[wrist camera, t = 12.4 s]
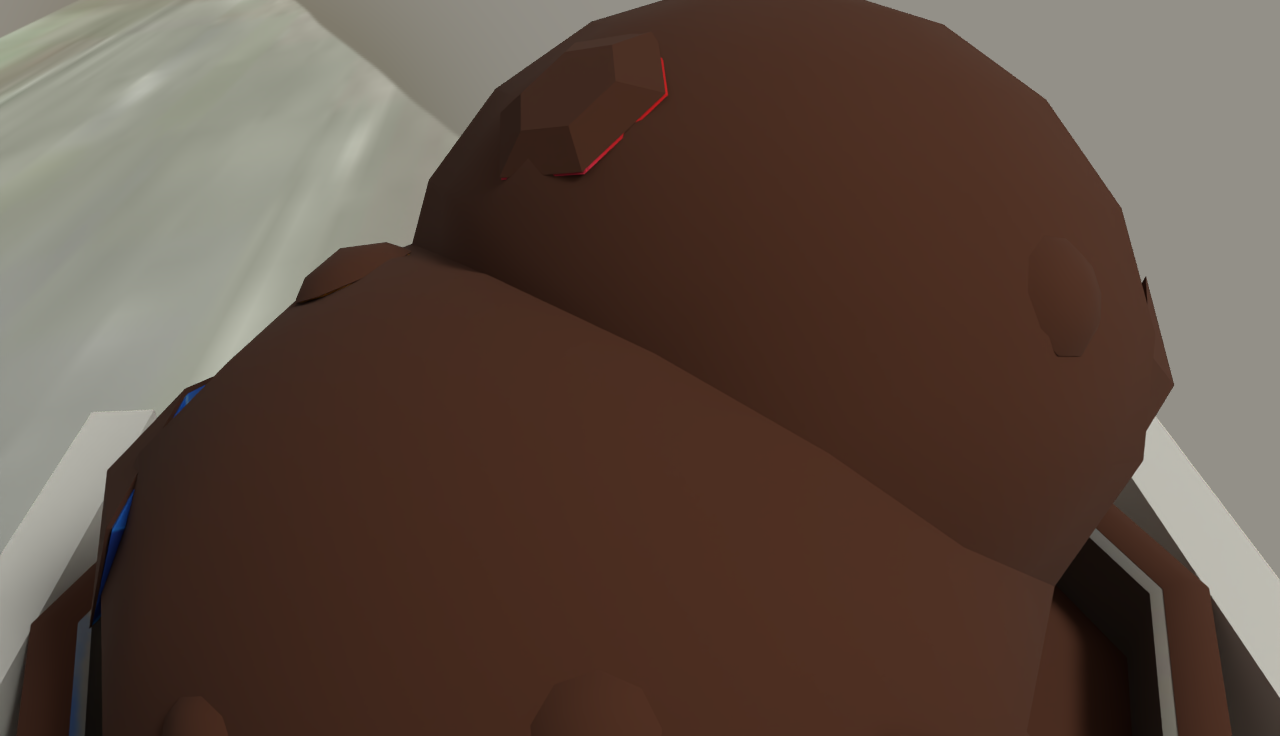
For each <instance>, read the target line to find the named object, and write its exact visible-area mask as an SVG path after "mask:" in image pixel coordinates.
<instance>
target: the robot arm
mask: <svg viewBox="0 0 1280 736" xmlns="http://www.w3.org/2000/svg"><path fill="white" fill-rule="evenodd" d="M156 419H157V418H156V414H155V411H154V410H131V411H107V412H92V413H91V414H90V416H89V417H88V419H87V421H86V422H85V424H84V425H83V427H82V428H81V430H80V432H79V433H78V435H77V436H76V438H75V439H74V441H73V442H72V444H71V446H70V447H69V449H68V450H67V452H66V453H65V455H64V456H63V458H62V460H61V461H60V463H59V464H58V466H57V467H56V469H55V471H54V472H53V474H52V475H51V477H50V478H49V480H48V481H47V483H46V485H45V486H44V488H43V489H42V491H41V492H40V494H39V496H38V497H37V499H36V500H35V502H34V503H33V505H32V506H31V508H30V510H29V511H28V513H27V514H26V516H25V517H24V519H23V520H22V522H21V524H20V525H19V527H18V528H17V530H16V531H15V533H14V535H13V536H12V538H11V539H10V541H9V542H8V544H7V545H6V547H5V549H4V550H3V552H2V553H1V555H0V736H16V735H17V728H18V720H19V712H20V704H21V697H22V689H23V681H24V673H25V665H26V658H27V650H28V642H29V634H30V627H31V623H32V622H33V621H35V620H36V619H37V618H38V617H39V616H40V615H41V614H42V613H43V612H44V611H45V610H46V609H47V608H48V607H49V606H50V605H51V604H52V603H53V602H54V601H55V600H57V599H58V598H59V597H60V596H61V595H62V594H63V593H64V592H65V591H66V590H67V589H68V588H69V587H70V586H71V585H72V584H73V583H74V582H75V581H76V580H78V579H79V578H80V577H81V576H82V575H83V574H84V573H85V572H86V571H87V570H88V569H89V568H90V567H91V566H92V565H93V564H94V563H95V562H96V561H97V554H98V546H99V537H100V528H101V519H102V510H103V501H104V492H105V484H106V475H107V470H108V469H109V468H110V467H111V466H112V465H113V464H114V462H115V461H116V460H117V459H118V458H119V457H120V456H121V455H122V454H123V453H124V452H125V451H126V450H127V449H128V448H129V447H130V446H131V445H132V444H133V443H134V442H135V441H136V440H137V438H138V437H139V436H140V435H141V434H142V433H143V432H144V431H145V430H146V429H147V428H148V427H149V426H150V425H151V424H152V423H153V422H154V421H155V420H156ZM1113 504H1114V505H1115V506H1116V507H1118V508H1119V509H1120V510H1121V511H1122V512H1123V513H1124V514H1126V515H1127V516H1128V517H1129V518H1130V519H1131V520H1132V521H1134V522H1135V523H1136V524H1137V525H1138V526H1139V527H1140V528H1141V529H1143V530H1144V531H1145V532H1146V533H1147V534H1148V535H1149V536H1151V537H1152V538H1153V539H1154V540H1155V541H1156V542H1157V543H1159V544H1160V545H1161V546H1162V547H1163V548H1164V549H1165V550H1167V551H1168V552H1169V553H1170V554H1171V555H1172V556H1173V557H1175V558H1176V559H1177V560H1178V561H1179V562H1180V563H1181V564H1183V565H1184V566H1185V567H1186V568H1187V569H1188V570H1189V571H1191V572H1192V573H1193V574H1194V575H1195V576H1196V577H1197V578H1199V579H1200V580H1201V581H1202V582H1203V583H1204V584H1205V585H1207V586H1208V587H1209V590H1210V597H1211V603H1212V609H1213V616H1214V622H1215V629H1216V635H1217V642H1218V648H1219V654H1220V661H1221V667H1222V674H1223V680H1224V686H1225V693H1226V699H1227V706H1228V712H1229V718H1230V725H1231V731H1232V736H1280V580H1279V578H1278V577H1277V576H1276V574H1275V573H1274V572H1273V570H1272V569H1271V568H1270V566H1269V565H1268V564H1267V562H1266V561H1265V560H1264V558H1263V557H1262V556H1261V554H1260V553H1259V552H1258V550H1257V549H1256V548H1255V547H1254V545H1253V544H1252V543H1251V541H1250V540H1249V539H1248V537H1247V536H1246V535H1245V533H1244V532H1243V531H1242V529H1241V528H1240V527H1239V525H1238V524H1237V523H1236V521H1235V520H1234V519H1233V518H1232V516H1231V515H1230V514H1229V512H1228V511H1227V510H1226V508H1225V507H1224V506H1223V504H1222V503H1221V502H1220V500H1219V499H1218V498H1217V496H1216V495H1215V494H1214V492H1213V491H1212V490H1211V489H1210V487H1209V486H1208V485H1207V483H1206V482H1205V481H1204V479H1203V478H1202V477H1201V475H1200V474H1199V473H1198V471H1197V470H1196V469H1195V467H1194V466H1193V465H1192V463H1191V462H1190V461H1189V459H1188V458H1187V457H1186V456H1185V454H1184V453H1183V452H1182V450H1181V449H1180V448H1179V446H1178V445H1177V444H1176V442H1175V441H1174V440H1173V438H1172V437H1171V436H1170V434H1169V433H1168V432H1167V430H1166V429H1165V428H1164V426H1163V425H1162V424H1161V423H1160V421H1159V420H1158V419H1157V417H1156V416H1155V418H1154V419H1153V421H1152V423H1151V424H1150V426H1149V428H1148V429H1147V431H1146V439H1145V449H1144V459H1143V462H1142V463H1141V465H1140V466H1139V468H1138V469H1137V470H1136V472H1135V473H1134V475H1133V476H1132V477H1131V479H1130V480H1129V482H1128V483H1127V485H1126V486H1125V487H1124V489H1123V490H1122V492H1121V493H1120V494H1119V496H1118V497H1117V499H1116V500H1115V502H1114V503H1113Z"/></svg>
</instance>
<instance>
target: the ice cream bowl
mask: <svg viewBox="0 0 1280 736" xmlns="http://www.w3.org/2000/svg"><path fill="white" fill-rule="evenodd" d="M1173 386H1174V383H1173V379H1172V375H1171V371H1170V367H1169V364H1168V360H1167V356H1166V352H1165V348H1164V344H1163V340H1162V336H1161V333H1160V329H1159V325H1158V321H1157V317H1156V313H1155V309H1154V306H1153V302H1152V298H1151V294H1150V290H1149V287H1148V283H1147V279H1146V277H1145V278H1144V280H1143V282H1142V283H1141V279H1140V275H1139V272H1138V268H1137V264H1136V260H1135V257H1134V253H1133V249H1132V246H1131V242H1130V238H1129V235H1128V231H1127V227H1126V224H1125V220H1124V216H1123V212H1122V209H1121V207H1120V205H1119V204H1118V203H1117V201H1116V200H1115V198H1114V197H1113V195H1112V194H1111V192H1110V191H1109V190H1108V188H1107V187H1106V185H1105V184H1104V182H1103V181H1102V180H1101V178H1100V177H1099V175H1098V174H1097V172H1096V171H1095V169H1094V168H1093V167H1092V165H1091V164H1090V162H1089V161H1088V159H1087V158H1086V156H1085V155H1084V154H1083V152H1082V151H1081V149H1080V148H1079V146H1078V145H1077V143H1076V142H1075V141H1074V139H1073V138H1072V136H1071V135H1070V133H1069V132H1068V131H1067V129H1066V128H1065V126H1064V125H1063V123H1062V122H1061V120H1060V119H1059V118H1058V116H1057V115H1056V113H1055V112H1054V110H1053V109H1052V107H1051V106H1050V105H1049V103H1048V102H1047V100H1046V99H1044V98H1043V97H1042V96H1040V95H1039V94H1038V93H1036V92H1035V91H1033V90H1032V89H1031V88H1029V87H1028V86H1027V85H1025V84H1024V83H1023V82H1021V81H1020V80H1018V79H1017V78H1016V77H1014V76H1013V75H1012V74H1010V73H1009V72H1008V71H1006V70H1005V69H1003V68H1002V67H1001V66H999V65H998V64H996V63H995V62H994V61H992V60H991V59H990V58H988V57H987V56H986V55H984V54H983V53H982V52H980V51H979V50H977V49H976V48H975V47H973V46H972V45H971V44H969V43H968V42H967V41H965V40H964V39H962V38H961V37H960V36H958V35H957V34H955V33H954V32H953V31H951V30H950V29H949V28H947V27H946V26H945V25H943V24H940V23H937V22H933V21H930V20H927V19H924V18H921V17H917V16H914V15H911V14H908V13H904V12H901V11H898V10H895V9H891V8H888V7H885V6H881V5H878V4H876V3H872V2H869V1H866V0H662V1H659V2H655V3H652V4H649V5H646V6H642V7H639V8H635V9H632V10H629V11H626V12H622V13H619V14H616V15H612V16H609V17H606V18H602V19H599V20H596V21H592V22H590V23H589V24H588V25H586V26H585V27H583V28H582V29H580V30H579V31H578V32H576V33H575V34H573V35H572V36H570V37H569V38H568V39H566V40H565V41H563V42H562V43H560V44H559V45H558V46H556V47H555V48H553V49H552V50H550V51H549V52H548V53H546V54H545V55H543V56H542V57H540V58H539V59H538V60H536V61H535V62H533V63H532V64H531V65H529V66H528V67H526V68H525V69H523V70H522V71H520V72H519V73H518V74H516V75H515V76H513V77H512V78H511V79H509V80H508V81H506V82H505V83H503V84H502V85H501V86H499V87H498V88H496V89H495V90H494V92H493V93H492V94H491V96H490V97H489V98H488V100H487V101H486V102H485V104H484V105H483V107H482V108H481V109H480V111H479V112H478V113H477V115H476V116H475V118H474V119H473V120H472V122H471V123H470V124H469V126H468V127H467V129H466V130H465V131H464V133H463V134H462V135H461V137H460V138H459V139H458V141H457V142H456V144H455V145H454V146H453V148H452V149H451V150H450V152H449V153H448V155H447V156H446V157H445V159H444V160H443V161H442V163H441V164H440V166H439V167H438V168H437V170H436V171H435V172H434V174H433V175H432V176H431V178H430V179H429V182H428V185H427V189H426V193H425V197H424V201H423V205H422V208H421V212H420V216H419V220H418V224H417V228H416V232H415V235H414V239H413V243H412V244H411V245H408V246H406V247H403V248H402V247H399V246H396V245H393V244H390V243H387V242H384V243H377V244H369V245H362V246H354V247H347V248H340V249H339V250H338V251H337V252H335V253H334V254H333V255H332V256H331V257H329V258H328V259H327V260H326V261H325V262H323V263H322V264H321V265H320V266H319V267H317V268H316V269H315V270H314V271H313V272H311V273H310V274H309V275H308V276H307V277H305V279H304V282H303V284H302V286H301V289H300V291H299V293H298V296H297V298H296V301H295V302H294V303H293V304H292V305H290V306H289V307H288V308H287V309H286V310H285V311H284V312H283V313H282V314H281V315H279V316H278V317H277V318H276V319H275V320H274V321H273V322H272V323H271V324H270V325H268V326H267V327H266V328H265V329H264V330H263V331H262V332H261V333H260V334H259V335H257V336H256V337H255V338H254V339H253V340H252V341H251V342H250V343H249V344H248V345H246V346H245V347H244V348H243V349H242V350H241V351H240V352H239V353H238V354H236V355H235V356H234V357H233V358H232V359H231V360H230V361H229V362H228V363H227V364H226V365H225V366H224V367H223V368H222V369H221V370H220V371H219V372H218V373H217V374H216V375H215V376H214V377H211V378H209V379H207V380H204V381H202V382H200V383H197V384H195V385H193V386H190V387H188V388H186V389H184V390H183V392H182V393H181V394H180V395H179V396H178V397H177V398H176V399H175V400H174V401H173V402H172V403H171V404H170V405H169V406H168V407H167V408H166V409H165V410H164V411H163V412H162V413H161V414H160V416H159V417H158V418H157V419H156V420H155V421H154V422H153V423H152V424H151V425H150V426H149V427H148V428H147V429H146V430H145V431H144V432H143V433H142V434H141V435H140V436H139V437H138V438H137V440H136V441H135V442H134V443H133V444H132V445H131V446H130V447H129V448H128V449H127V450H126V451H125V452H124V453H123V454H122V455H121V456H120V457H119V458H118V459H117V460H116V461H115V462H114V464H113V465H112V466H111V467H110V468H109V469H108V470H107V475H106V484H105V492H104V501H103V510H102V519H101V528H100V537H99V546H98V554H97V561H96V562H95V563H94V564H93V565H92V566H91V567H90V568H89V569H88V570H87V571H86V572H85V573H84V574H83V575H82V576H81V577H80V578H79V579H78V580H76V581H75V582H74V583H73V584H72V585H71V586H70V587H69V588H68V589H67V590H66V591H65V592H64V593H63V594H62V595H61V596H60V597H59V598H58V599H57V600H55V601H54V602H53V603H52V604H51V605H50V606H49V607H48V608H47V609H46V610H45V611H44V612H43V613H42V614H41V615H40V616H39V617H38V618H37V619H36V620H35V621H33V622H32V623H31V627H30V634H29V642H28V650H27V658H26V665H25V673H24V681H23V689H22V697H21V704H20V712H19V720H18V728H17V735H16V736H1232V731H1231V725H1230V718H1229V712H1228V706H1227V699H1226V693H1225V686H1224V680H1223V674H1222V667H1221V661H1220V654H1219V648H1218V642H1217V635H1216V629H1215V622H1214V616H1213V609H1212V603H1211V597H1210V590H1209V587H1208V586H1207V585H1205V584H1204V583H1203V582H1202V581H1201V580H1200V579H1199V578H1197V577H1196V576H1195V575H1194V574H1193V573H1192V572H1191V571H1189V570H1188V569H1187V568H1186V567H1185V566H1184V565H1183V564H1181V563H1180V562H1179V561H1178V560H1177V559H1176V558H1175V557H1173V556H1172V555H1171V554H1170V553H1169V552H1168V551H1167V550H1165V549H1164V548H1163V547H1162V546H1161V545H1160V544H1159V543H1157V542H1156V541H1155V540H1154V539H1153V538H1152V537H1151V536H1149V535H1148V534H1147V533H1146V532H1145V531H1144V530H1143V529H1141V528H1140V527H1139V526H1138V525H1137V524H1136V523H1135V522H1134V521H1132V520H1131V519H1130V518H1129V517H1128V516H1127V515H1126V514H1124V513H1123V512H1122V511H1121V510H1120V509H1119V508H1118V507H1116V506H1115V505H1114V504H1113V503H1114V502H1115V500H1116V499H1117V497H1118V496H1119V494H1120V493H1121V492H1122V490H1123V489H1124V487H1125V486H1126V485H1127V483H1128V482H1129V480H1130V479H1131V477H1132V476H1133V475H1134V473H1135V472H1136V470H1137V469H1138V468H1139V466H1140V465H1141V463H1142V462H1143V459H1144V449H1145V439H1146V431H1147V429H1148V428H1149V426H1150V424H1151V423H1152V421H1153V419H1154V418H1155V416H1156V414H1157V413H1158V411H1159V409H1160V407H1161V406H1162V404H1163V403H1164V401H1165V399H1166V398H1167V396H1168V394H1169V393H1170V391H1171V390H1172V388H1173Z"/></svg>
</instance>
